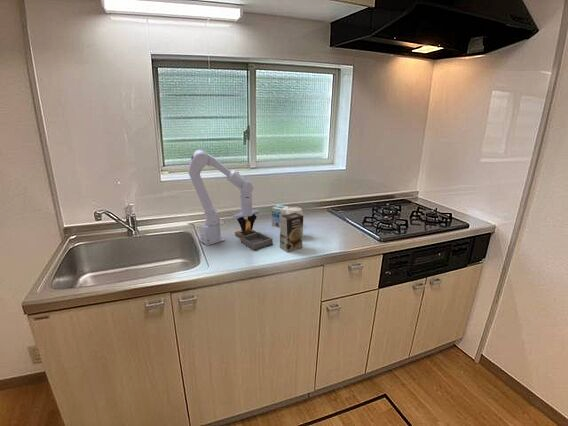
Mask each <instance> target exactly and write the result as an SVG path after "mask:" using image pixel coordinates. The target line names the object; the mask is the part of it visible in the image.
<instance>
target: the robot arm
mask: <svg viewBox="0 0 568 426" xmlns="http://www.w3.org/2000/svg"><path fill="white" fill-rule="evenodd" d="M206 166H207V167H213V168H215V169H216V170H217V171H219V172H220V173H222V174H223V175H225V176H226V180H227V181H228V182H230V183H231V184H232V185H233V186H235V187H236V188H238V190H239V191H240V197H239V199H240V201H239V202H240V203H239V204H240V212H238V213H236V214H233V215H232V219H233V220H235V221H236V220H237V222H238V224H239V226H240V230H242V231H243V232H244V231H245V222H246V220H245V219H246V218H247V219H250V220H251V229H252V230H253V228H254V223H255V222H256V220H257V218H258V217H257V215H260V210H259V209H253V195H252V193H253V190H254V187H253V184H252V183H251V181H249V180H248V179H247V178H246V177H244V176H243V175H242V174H240V172H239V171H238V170H235V169H233V170H230V169H229V168H227V166H225V165H224V164H223V163H221V162H220V161H219V159H217V158H216V157H214V156H212V155H211V154H209V153H206V152H205V151H204V150H202V149H197V150H195V151H194V152H192V155H191V156H190V161H189V166H188V176H189V178H190V180H191V182H192V185H193V187H194V189H195V191H196V192H195V193H196V194H197V196H198V198H199V202H200V204H201V206H202V208H203V210H204V211H203V214H204V217H205V221H204V224H202V225H201V226H199V238H200V239H199V241H201V242H202V243H203V244H205V245H206V246H209V245H214V244H217V243H219V242H223V241H225V239H224V238H222V237H221V222H220V221H221V217H220V215H219V214H218V211H217V209H216V208H214V206H213V203H212V200H211V198H210V196H209V193H208V191H207V189H206V186H205V184H204V181H203V179H202V177H201V172H202V170H203V169H204V168H205V167H206Z"/></svg>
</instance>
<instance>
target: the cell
mask: <svg viewBox="0 0 568 426" xmlns="http://www.w3.org/2000/svg"><path fill="white" fill-rule="evenodd" d="M244 219H245V220H246V222H245V231H244V232H243V234H244V235H248V234H251V220H250V219H248V218H244Z"/></svg>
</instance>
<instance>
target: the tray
mask: <svg viewBox="0 0 568 426" xmlns="http://www.w3.org/2000/svg"><path fill="white" fill-rule="evenodd" d="M257 232H258V233H254V234H251V235H247V236H244V237H241V238H240V244H242V245H244V246H245V247H246V248H249V249H250V250H253V251H257V250H260V249H264V248H266V247H269V246H272V245H273V238H272V237H269V236H268V235H266V234H264V233H262V232H259V231H257Z"/></svg>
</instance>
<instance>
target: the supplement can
mask: <svg viewBox="0 0 568 426" xmlns="http://www.w3.org/2000/svg"><path fill="white" fill-rule="evenodd" d="M289 207H290V208H288V210H287V212H286V215H287V214H291V213H297V214H300V215H303V216H304V212H303V209H302V207H299V206H289Z"/></svg>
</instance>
